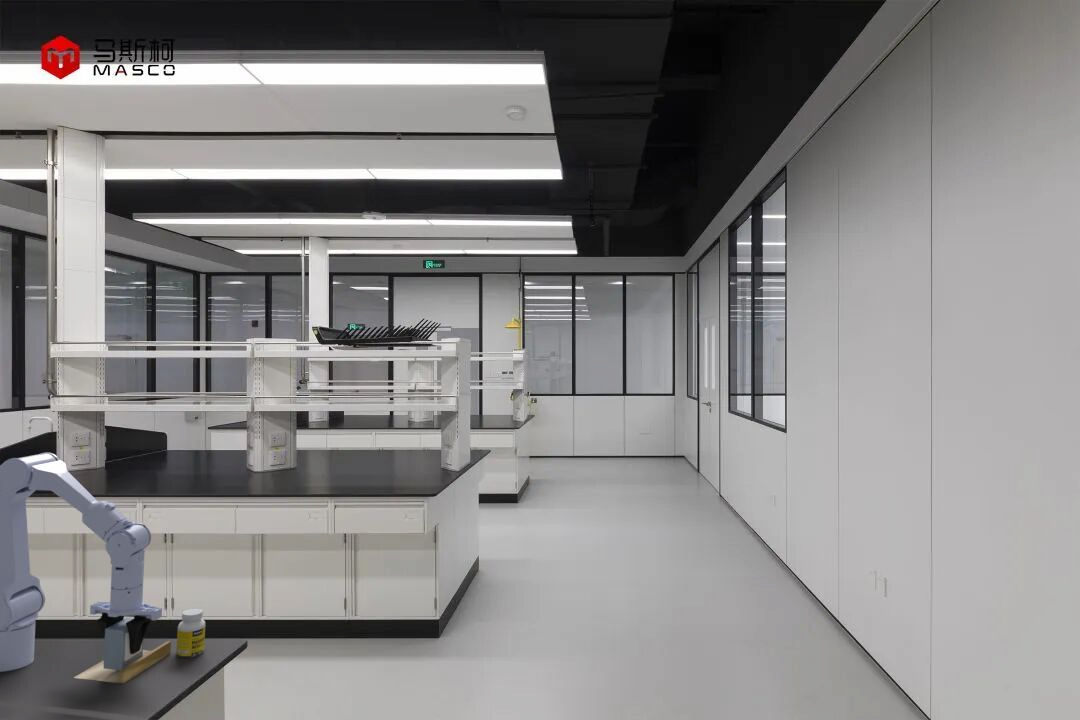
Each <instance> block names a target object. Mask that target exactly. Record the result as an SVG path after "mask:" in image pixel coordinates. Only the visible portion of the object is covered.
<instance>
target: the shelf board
mask: <svg viewBox="0 0 1080 720" xmlns="http://www.w3.org/2000/svg"><path fill="white" fill-rule="evenodd" d="M171 648H172V641H170V640H167V641H165V642H164V643H162V644H161V645H159V646H157V647H156V648H154V649H152V650H146V649H143V657H141V658H140V659H138V660H136V661H135V662H133V663H132V664H130V665H128V666H127V667H125V668H124V669H122V670H113V669H103V668H104V659H103V660H101V661H99V662H98V663H96V664H94V665H93V666H91V667H89V668H87V669H85V670H84V671H82V672H81V673H79V674H77V675H75V676H74V677H73V679H80V680H88V681H98V682H106V683H107V682H108V683H116V684H125V683H127V682H129V681H131V679H133V678H134V677H137V675H139V674H140V673H143V671H145V670H146V669H148V668H150V667H152V666H153V665H154V664H156V663H157V662H159V661H160V660H162V659H164V658H165V657H166V656H168V655H170V654H171V651H172V649H171Z"/></svg>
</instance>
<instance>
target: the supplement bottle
mask: <svg viewBox="0 0 1080 720" xmlns="http://www.w3.org/2000/svg"><path fill="white" fill-rule="evenodd" d="M181 613H182V616H181V620H182V621H180V622H179V624H178V626H177V634H176V637H177V638H176V654H175V655H176V657H177V658H179V659H191V658H195V657H199V656H201V655H202V654H203V653H205V652H204V651H205V641H206V640H205V638H206V637H205V636H206V621H205V620H204V619H203V615H204V613H203V609H201V608H190V609H186V610H183V612H181Z"/></svg>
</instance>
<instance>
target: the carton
mask: <svg viewBox="0 0 1080 720" xmlns="http://www.w3.org/2000/svg"><path fill="white" fill-rule="evenodd" d="M132 619H134V617H126V618H125V617H124V619H123V620H121V621H120V622H118V623H116V624H114V625H112V626H110V627H108V628H106V629H105V636H104V647H103V648H104V649H103V660H104V668H103V669H113V670H122V669H124V668H125V667H127V666H128V665H130V664H132V663H133V662H135V661H136V660H138V659H140V658H141V657H143V650H144V640H143V641H142V644H141V648H140V650H139V651H138V652H136V653H135V654H130V647H129V645H130V638H129V632H128V628H127V626H126V623H127V622H128V621H130V620H132Z"/></svg>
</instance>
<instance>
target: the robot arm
mask: <svg viewBox="0 0 1080 720" xmlns="http://www.w3.org/2000/svg"><path fill="white" fill-rule="evenodd" d="M36 491H51V492H52V493H54V494H56V495H57V496H58V497H59V498H61V499H62V500H64V501H65V502H66V503H67V504H69V505H70V506H71V507H72V508H74V509H75V510H77V511H79V513H81V515H82V517H81V521H82V523H83V524H84V525H85V526H86V527H87V528H88V529H89V530H91V531H92V532H93V533H94V534H95V535H97V537H98V538H100V539H101V540H102V541H103V542H105V544H104V546H105V551H106V553H107V554H108V555H109V558H110V565H111V571H110V572H111V573H110V574H111V577H110V578H111V579H110V595H109V597H110V599H109V600H110V601H97V602H94V603H92V604H90V606H89V607H90V610H89V614H90V615H96V614H98V615H99V614H101V616H100V618H97V619H96V624H97V626H98V627H99V629H100V631H102V634H103V636H104V637H105V629H106V628H108V627H110V626H112V625H114V624H116V623H118V622H120V621H121V620H123V619H125V617H128V618H134V619H132V620H130V621H128V622H127V623H126V626H127V628H128V632H129V638H130V645H129V647H130V654H135V653H136V652H138V651H139V650H140V648H141V644H142V641H143V642H144V637H145V636H146V634H147V631H148V628H149V627H150V625H151V624H152V622H153V621H157V620H158V619H160V618H162V616H163V615H162V614H163V607H157V606H154V605H150V604H148V603H145V602H143V598H144V572H145V553H146V550H145V549H147V547H148V546H149V545H150V544H151V541H152V534H151V531H150V530H149V528H148V527H147V525H146V524H145V523H142V522H134V521H133V520H132V519H130V518H127V516H125V515H124V514H123V513H122V512H121V511H119V509H117V508H116V507H117V505H116V504H115V503H114V502H113V501H112V502H109V501H108V500H102V501H101V500H100V501H99V500H97V499H96V498H95V497H94V496H93V495H92V494H91V493H90V492H89V491H88V490H87V489H86V488H85V487H84V486H83V485H82V484H81V483H80V482H79V481H78V480H77V479H76V478H75V477H74V476H73V475H72V474H71V473H70V472H69V471H68V469H67V463H65V461H63V460H61V459H60V458H59V457H58V455H56V454H54V453H52V452H42V453H39V454H33V455H28V456H22V457H18V458H17V457H12V458H8V459H7V460H5V461H4V462H3V463H2V464H0V673H1V672H10V671H14V670H18V669H22V668H25V667H27V666H29V665H30V664H32V663H33V662H34V660H35V643H36V642H35V639H36V637H35V636H36V619H37V618H38V615H39V612H41V611H42V610H43V608H44V607H45V604H46V595H45V592H44V591H43V590H42V588H41V584H40V583H41V581H40V580H41V579H40V578H39V577H37V576H36V575H33V574H32V573H31V566H30V551H29V535H28V534H29V533H28V518H27V502H26V500H27V499H28V498H29V497H30V496H31V495H32V494H34V492H36Z"/></svg>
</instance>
